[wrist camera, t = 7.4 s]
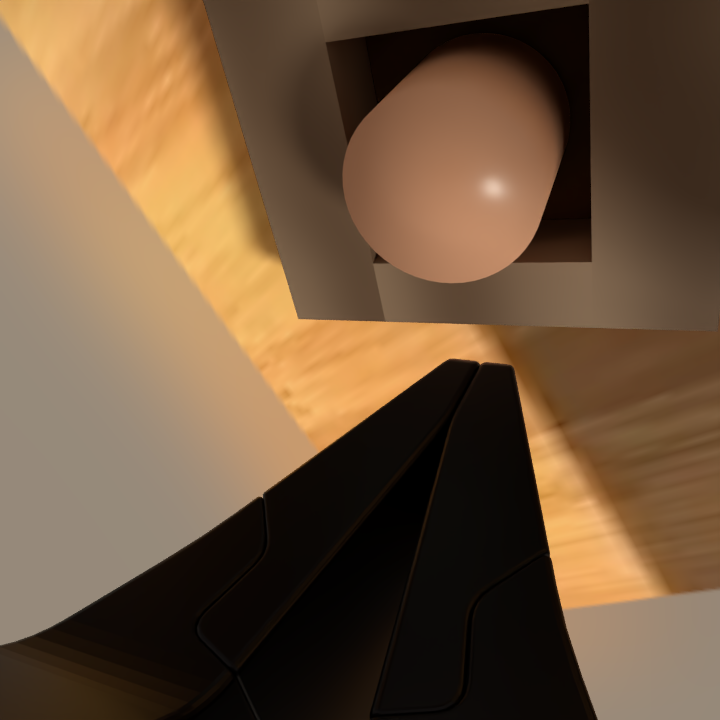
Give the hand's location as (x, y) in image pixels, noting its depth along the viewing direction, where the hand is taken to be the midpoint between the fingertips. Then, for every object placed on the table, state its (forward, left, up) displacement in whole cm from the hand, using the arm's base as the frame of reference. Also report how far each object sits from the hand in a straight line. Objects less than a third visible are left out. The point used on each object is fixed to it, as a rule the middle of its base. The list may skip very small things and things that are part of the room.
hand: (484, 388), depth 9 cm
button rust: (+3, 0, -11) cm, 12 cm away
